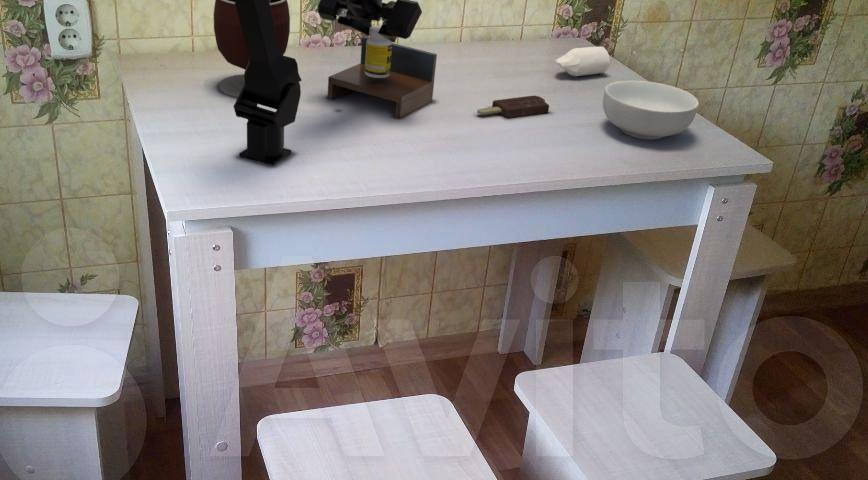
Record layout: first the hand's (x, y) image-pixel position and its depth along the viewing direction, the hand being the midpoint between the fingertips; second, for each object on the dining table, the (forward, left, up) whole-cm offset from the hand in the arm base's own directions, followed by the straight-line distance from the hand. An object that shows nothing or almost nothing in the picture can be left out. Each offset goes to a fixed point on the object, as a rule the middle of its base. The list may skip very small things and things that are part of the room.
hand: (383, 37), depth 180 cm
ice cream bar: (+9, -23, -12) cm, 28 cm away
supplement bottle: (-1, 0, -7) cm, 7 cm away
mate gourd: (-8, +23, -12) cm, 27 cm away
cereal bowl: (+14, -47, -12) cm, 51 cm away
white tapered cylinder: (+38, -27, -12) cm, 48 cm away
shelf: (0, 0, -12) cm, 12 cm away
